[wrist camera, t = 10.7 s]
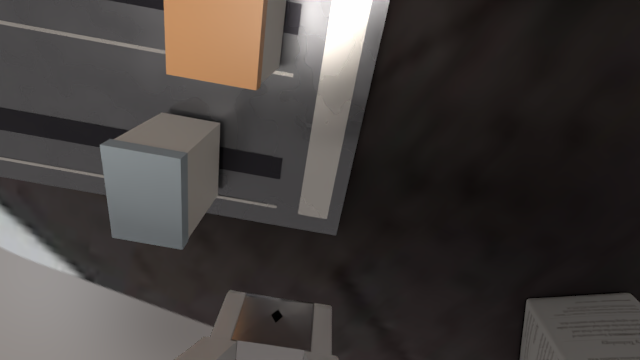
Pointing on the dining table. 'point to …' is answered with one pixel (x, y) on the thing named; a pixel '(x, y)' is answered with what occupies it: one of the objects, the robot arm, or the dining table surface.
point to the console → (189, 101)
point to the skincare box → (582, 328)
